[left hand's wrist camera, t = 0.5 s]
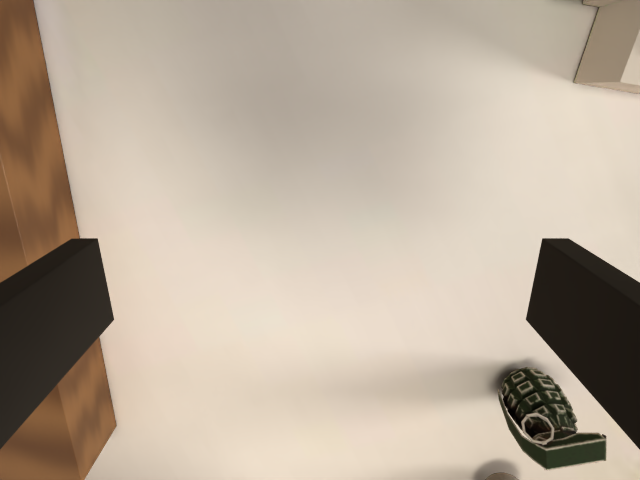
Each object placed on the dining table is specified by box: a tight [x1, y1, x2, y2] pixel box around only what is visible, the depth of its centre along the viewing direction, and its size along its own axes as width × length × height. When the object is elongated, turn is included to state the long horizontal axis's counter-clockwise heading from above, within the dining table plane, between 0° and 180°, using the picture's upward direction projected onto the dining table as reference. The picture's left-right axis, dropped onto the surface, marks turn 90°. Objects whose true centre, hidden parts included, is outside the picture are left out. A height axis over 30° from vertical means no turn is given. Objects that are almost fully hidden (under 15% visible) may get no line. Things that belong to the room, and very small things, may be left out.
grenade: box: [498, 367, 606, 471], centre depth 41 cm, size 7×6×10 cm
